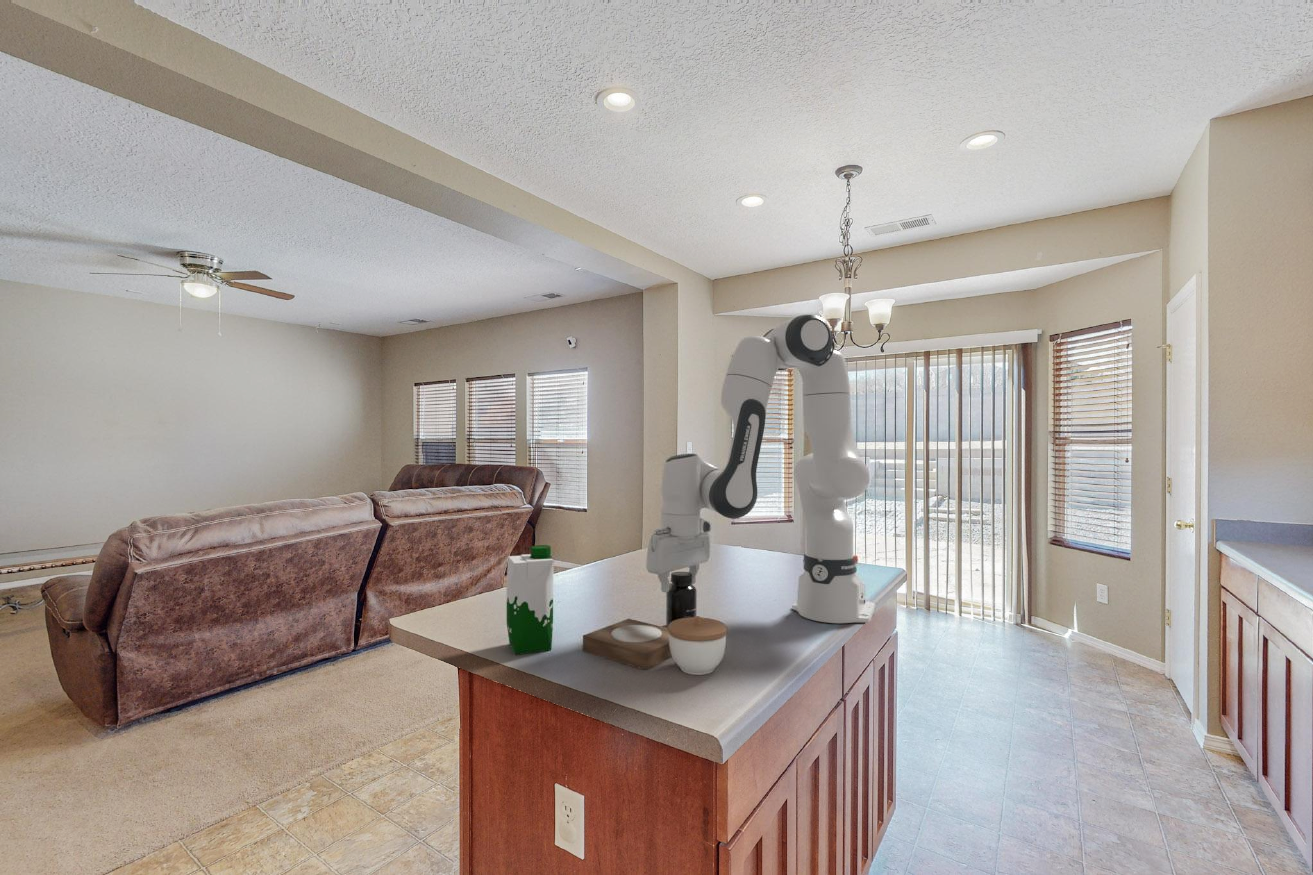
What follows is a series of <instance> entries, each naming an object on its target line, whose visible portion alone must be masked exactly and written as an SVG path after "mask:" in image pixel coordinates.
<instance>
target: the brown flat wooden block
mask: <svg viewBox="0 0 1313 875" xmlns="http://www.w3.org/2000/svg"><path fill="white" fill-rule="evenodd" d="M582 651H583V652H585V653H590V654H593V655H594V656H598V657H602V658H605V659H608V660H612V661H615V662H617V663H618V662H619V663H622V664H625V665H628V666H631V667H635V668H637V669H641V670H644V671H647V670H649V669H651V668H653V667H655V666H657V665H660V664H661V663H663V662H666V661H667V660H669V659H671V658H673V657H672V655H671V652H670V647H669V633H668V627H667V626H666V627H665V626H661V625H657V624H653V623H648V622H644V621H640V620H637V619H632V618H627V619H624V620H621V621H618V622H616V623H614V624H610V625H607V626H605V627H603V628H599V629H596V630H593V631H591V632H588V633H587V634H586V633H585V634H584V635H582Z"/></svg>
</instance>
